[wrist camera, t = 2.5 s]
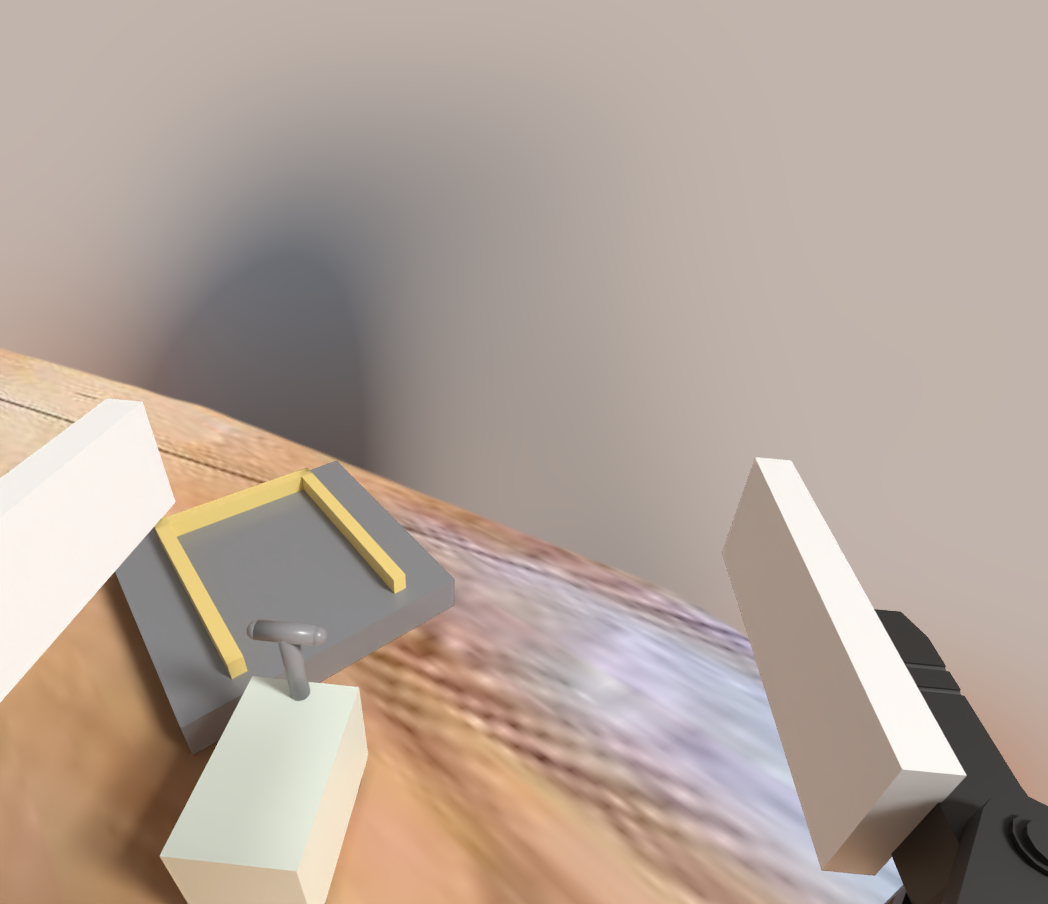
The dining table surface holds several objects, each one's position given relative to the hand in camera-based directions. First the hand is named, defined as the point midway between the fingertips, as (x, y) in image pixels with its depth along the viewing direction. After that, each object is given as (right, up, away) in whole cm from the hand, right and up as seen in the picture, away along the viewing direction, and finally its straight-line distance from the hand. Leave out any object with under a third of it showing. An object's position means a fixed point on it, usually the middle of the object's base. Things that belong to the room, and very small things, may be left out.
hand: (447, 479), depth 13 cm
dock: (-18, -11, +36) cm, 41 cm away
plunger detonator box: (-11, -21, +21) cm, 32 cm away
